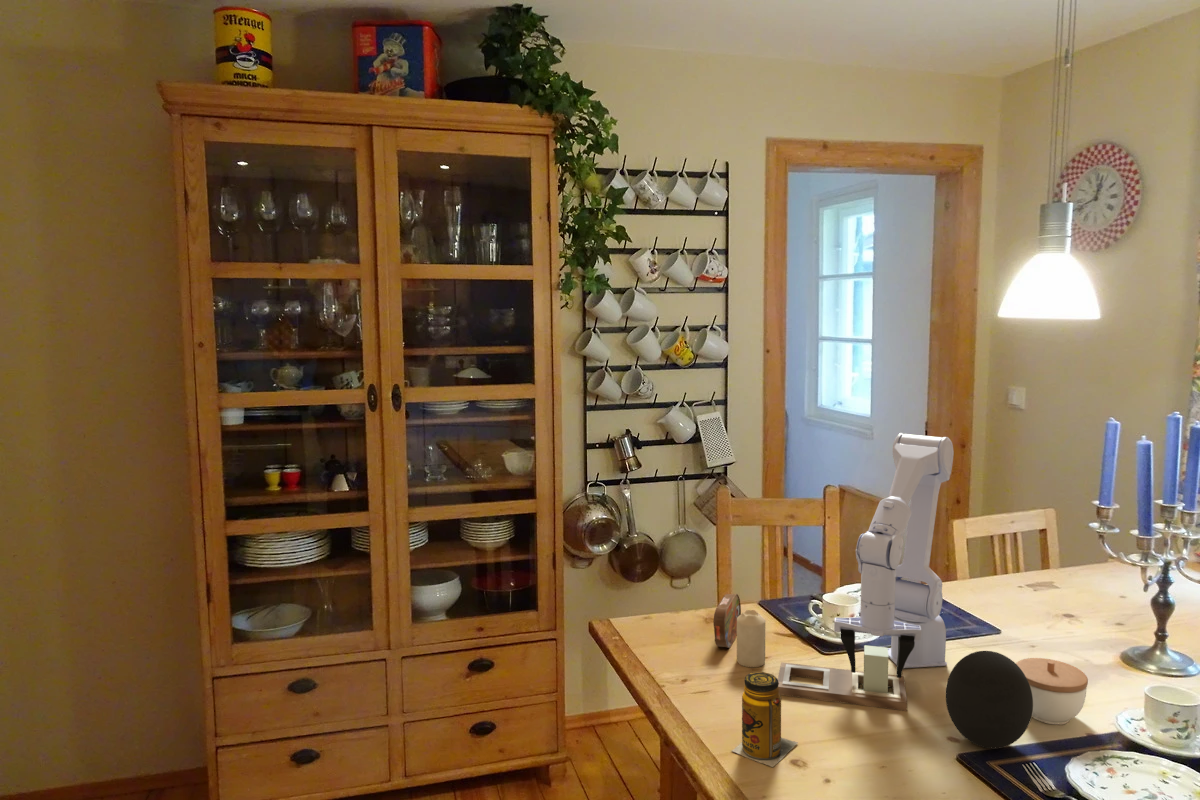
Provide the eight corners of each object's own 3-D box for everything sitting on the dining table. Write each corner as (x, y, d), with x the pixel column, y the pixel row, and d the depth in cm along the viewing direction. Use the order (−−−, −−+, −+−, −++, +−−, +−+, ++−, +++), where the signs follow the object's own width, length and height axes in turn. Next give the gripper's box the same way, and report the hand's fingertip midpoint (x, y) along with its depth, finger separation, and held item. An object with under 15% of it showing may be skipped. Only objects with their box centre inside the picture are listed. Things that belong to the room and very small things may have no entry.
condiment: (731, 752, 127) (731, 679, 126) (757, 729, 133) (758, 660, 132) (772, 768, 122) (773, 694, 121) (798, 744, 129) (799, 673, 127)
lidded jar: (1084, 738, 129) (1087, 683, 127) (1009, 721, 134) (1012, 668, 133) (1086, 709, 138) (1089, 657, 136) (1015, 693, 143) (1018, 643, 142)
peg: (886, 689, 146) (887, 647, 145) (887, 700, 142) (888, 657, 141) (863, 687, 147) (864, 645, 146) (863, 697, 143) (864, 654, 142)
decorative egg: (949, 716, 136) (952, 631, 134) (1032, 735, 130) (1036, 646, 128) (938, 752, 126) (942, 661, 124) (1028, 774, 119) (1033, 678, 117)
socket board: (903, 683, 148) (903, 675, 147) (906, 710, 138) (907, 701, 138) (781, 669, 154) (781, 661, 154) (776, 694, 145) (776, 685, 145)
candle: (765, 668, 155) (765, 619, 154) (736, 666, 156) (736, 617, 155) (765, 656, 160) (765, 608, 159) (737, 654, 161) (737, 606, 160)
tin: (726, 654, 161) (726, 614, 160) (711, 652, 162) (711, 612, 161) (742, 626, 175) (742, 588, 174) (728, 624, 176) (728, 587, 175)
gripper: (834, 604, 141) (833, 677, 142) (923, 612, 136) (921, 688, 138) (835, 589, 147) (834, 660, 149) (920, 597, 143) (918, 669, 145)
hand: (875, 672), depth 144 cm, fingers open, 7 cm apart
